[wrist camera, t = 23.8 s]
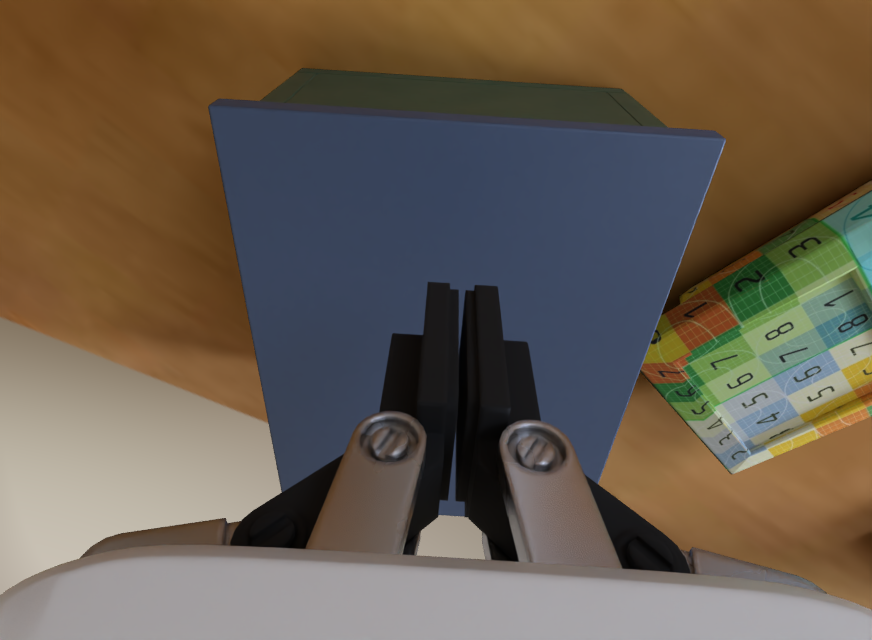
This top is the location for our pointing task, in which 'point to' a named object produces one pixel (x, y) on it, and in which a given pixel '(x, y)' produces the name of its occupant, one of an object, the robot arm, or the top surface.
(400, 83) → the sorter
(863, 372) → the puzzle game
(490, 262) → the lid
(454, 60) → the top surface
